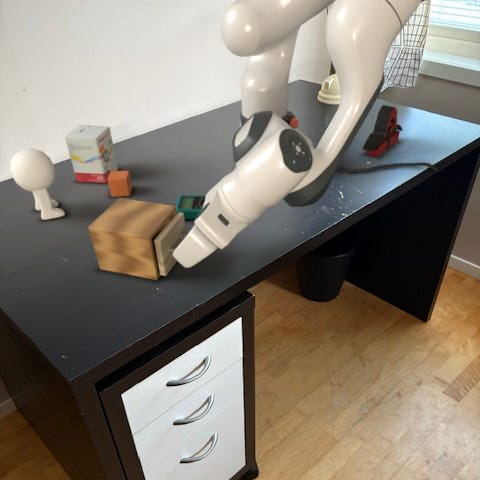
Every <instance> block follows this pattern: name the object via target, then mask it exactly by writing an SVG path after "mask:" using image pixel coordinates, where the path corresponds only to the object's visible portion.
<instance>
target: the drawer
mask: <svg viewBox="0 0 480 480" xmlns="http://www.w3.org/2000/svg"><path fill="white" fill-rule="evenodd" d="M185 220H186V219H184V213H180V212H178V213H177V214H176V215H175V216H174V218H173V219H172V220H171V217H170V218H169V219H168V220H167V221H166V222H165V224H164V225H163V226H162V227H161V228H160V229H159V231H158V232H157V233H156V234H155V235H154V236H153V237H152V244H153V249H154V254H155V260H156V265H157V268H158V267H159V270H160V275H161V276H164V277H167V275H168V274H169V273H170V272H171V270H172V269H173V267H174V266H175V265H176V263H177V262H178V261H177V260H176V259H175V258H174V257H173V252H174V250H175V249H176V248H177V247H178V245H179V244H180V243H181V242H182V241H183V239H184V238H185V237H186V235H187V234H188V233H187V229H186V221H185Z"/></svg>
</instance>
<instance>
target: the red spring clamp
mask: <svg viewBox="0 0 480 480" xmlns="http://www.w3.org/2000/svg"><path fill="white" fill-rule="evenodd" d="M403 131H404V130H403V127H402V125H400V124H398V109H397V107H395V106H390V105H386V104H382V105H381V107H380V108H379V110H378V113H377V115H376V120H375V124H374V126H373V130H372V132H371V133H370V134H369V135H368V137H367V139H366V140H365V142H364V145H363V146H362V148H361V150H363V151H365V155H368V156H372V157H375V158H379V157H380V156H381V155H382V154H383V153H384V152H386V151H388V150H389V149H390V148H391V147H393V146H394V145H395V144H396V143H398V142H399V137H400V132H403Z"/></svg>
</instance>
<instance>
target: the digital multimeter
mask: <svg viewBox="0 0 480 480" xmlns="http://www.w3.org/2000/svg"><path fill="white" fill-rule="evenodd" d="M205 198H206V195H184V194H183V195H180V196H178V198H177V200H176V202H175V206H176V208H177V213H178V212H180V213H184V220H196V218H197V216H198V215H199V213H200V211H201V210H202V207H203V204H204V202H205Z"/></svg>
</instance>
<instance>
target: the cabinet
mask: <svg viewBox="0 0 480 480" xmlns="http://www.w3.org/2000/svg"><path fill="white" fill-rule="evenodd" d="M176 214H177V208H176V205H171V204H163V203H156V202H151V201H143V200H137V199H136V200H135V199H129V198H122V197H119V198H118V199H117V200H116V201H115V202H113V203H112V204H111V205H110V206H109V207H108V208H107V209H106V210H105V211H104V212H102V214H100V215H99V216H98V217H97V218H96V219H95V220H94V221H93V222H92V223H91V224H90V225H88V233H89V235H90V239H91V242H92V246H93V249H94V253H95V257H96V261H97V263H98V267H99V270H103V271H108V272H112V273H117V274H124V275H128V276H134V277H139V278H144V279H150V280H155V281H158V280H159V279H160V277H161V276H162V275H160V270H159V267H158V268H157V265H156V260H155V254H154V249H153V244H152V237H153V236H154V235H155V234H156V233H157V232H158V231H159V229H160V228H161V227H162V226H163V225H164V224H165V222H166V221H167V220H168V219H169V218H170V217H171V220H172V219H173V218H174V216H175V215H176Z"/></svg>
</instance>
